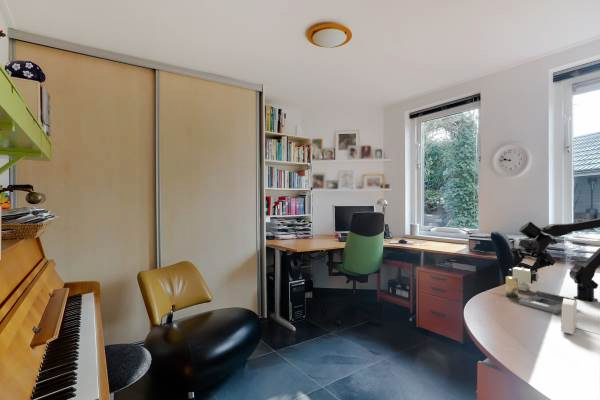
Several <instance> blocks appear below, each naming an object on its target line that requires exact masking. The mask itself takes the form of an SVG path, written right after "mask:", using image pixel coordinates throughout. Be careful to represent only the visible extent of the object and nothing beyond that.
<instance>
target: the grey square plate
mask: <svg viewBox="0 0 600 400" xmlns="http://www.w3.org/2000/svg"><path fill="white" fill-rule="evenodd" d="M500 297H504V298H508V299H512V300H514V301H515V300H516V301H517V300H521V299H524V298H525V297H524V296H520V295H518V298H510V297H507V296H506V293H505V294H501V295H500Z"/></svg>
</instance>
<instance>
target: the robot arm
mask: <svg viewBox="0 0 600 400" xmlns="http://www.w3.org/2000/svg"><path fill="white" fill-rule="evenodd" d="M598 228H600V217H598V218H594V219H587V220H583V221H576V222H570V223H550V224H547V225H546V226H545V227H538V226H537V225H535V224H534V223H533V222H532V221H528V222H527V223H525V224H524V225H522V226H521V227H520V228H519V230H518V232H519V233H521V235H523V236H525V237H526V238H528V240H527V239H522V238H521V239H520V240H519V243H518V246H519V247H521V248H523V250H524V251H523V250H522V249H521V248H519V247H511V249H510V250H509V253H511V255H512V257H513V258H512V261H511V262H512V263H511V268H513V267H517V266H518V265H519V264H520V263H522V262H523V261H524V259H525V258H531V259H535V262H534V263H533V264H532V265H531V267H530V268H529V269H530V271H531V272H533V271H535V272H536V271H537V270H540V269H543V268H545V267H550V266H554V265H555V264H556V259H555V258H554V257H553V256H552V255H551V253H548V251H547V249H548V247H549V246H550V245H551V246H554V245H557V244H558V242H557V240H556V238H560V237H563V236H566V235H569V234H571V233H573V232H580V231H586V230H592V229H598ZM553 237H555V238H553ZM529 239H530V240H529ZM531 239H532V240H531ZM599 267H600V247H598V249H597V250H596V251H595V252H594V253H593V254H592V255H590V256H589V258H588V259H587V260H586V261H585V262H584V263H581V264H580V263H575V264H574V266H573V267H572V268H569V270H570V271H569V273H568V274H569V277H570V278H571V279H572V280H573V281H574V283H575V284H577V285H576V292H577V293H576V295H575V296H573V299H576V300H581V301H586V302H592V303H593V302H596V301H598V298H596V297H595V289H597V288H598V287H599V283H597V282H595V281H594V280H593V278H594V277H595V274H596V271H597V269H598V268H599Z"/></svg>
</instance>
